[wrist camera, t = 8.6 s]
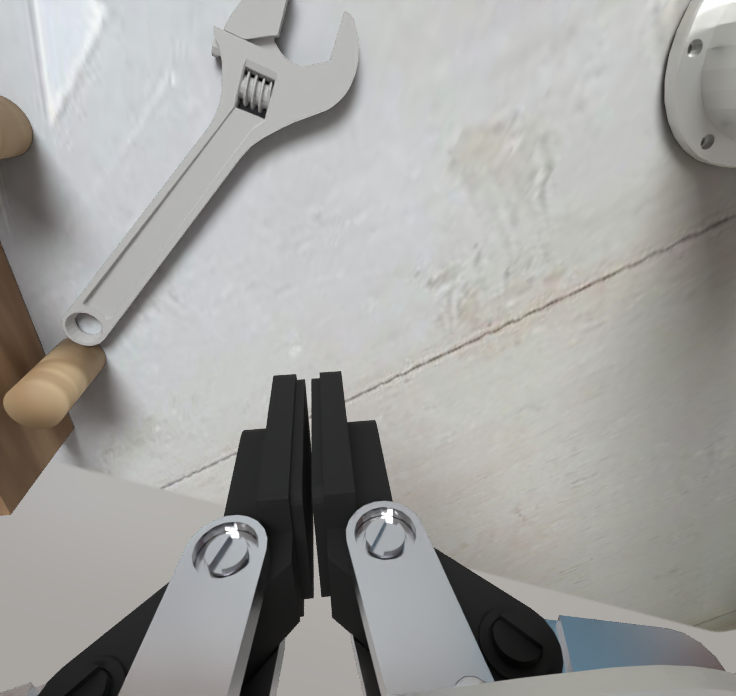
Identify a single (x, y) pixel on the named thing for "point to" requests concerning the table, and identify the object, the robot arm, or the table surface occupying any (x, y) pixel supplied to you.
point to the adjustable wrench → (218, 148)
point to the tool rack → (32, 365)
